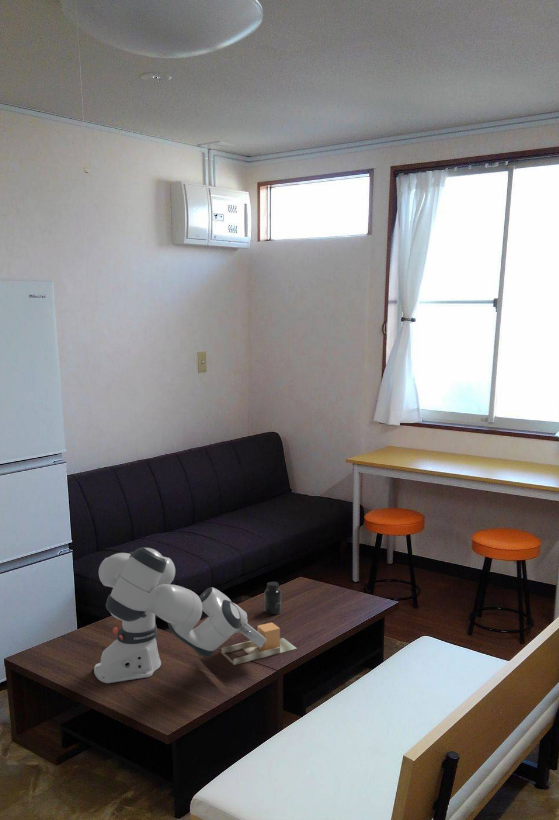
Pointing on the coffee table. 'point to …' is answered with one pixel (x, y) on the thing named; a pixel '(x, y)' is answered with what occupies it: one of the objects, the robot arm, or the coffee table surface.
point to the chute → (255, 651)
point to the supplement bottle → (272, 599)
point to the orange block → (269, 636)
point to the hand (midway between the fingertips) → (260, 640)
